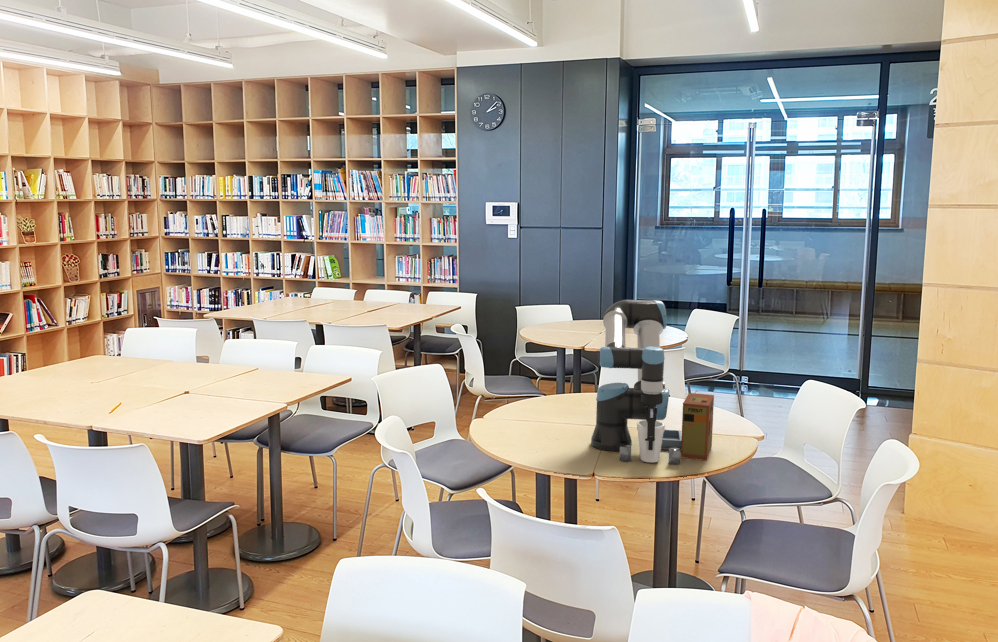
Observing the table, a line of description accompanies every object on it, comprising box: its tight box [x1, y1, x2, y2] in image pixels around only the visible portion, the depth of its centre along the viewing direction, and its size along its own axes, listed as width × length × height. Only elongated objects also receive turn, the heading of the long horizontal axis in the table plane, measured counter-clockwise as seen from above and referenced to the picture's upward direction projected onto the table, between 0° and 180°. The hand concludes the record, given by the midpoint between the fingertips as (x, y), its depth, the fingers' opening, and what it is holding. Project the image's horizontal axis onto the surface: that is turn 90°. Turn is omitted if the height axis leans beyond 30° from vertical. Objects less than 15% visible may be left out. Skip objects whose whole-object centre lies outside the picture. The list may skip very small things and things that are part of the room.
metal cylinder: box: [618, 445, 632, 463], centre depth 266 cm, size 4×4×5 cm
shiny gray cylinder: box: [668, 448, 681, 466], centre depth 262 cm, size 4×4×5 cm
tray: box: [661, 429, 682, 450], centre depth 285 cm, size 14×14×4 cm
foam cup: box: [636, 420, 666, 463], centre depth 264 cm, size 10×9×13 cm
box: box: [680, 392, 715, 461], centre depth 274 cm, size 17×9×20 cm, turn 159°
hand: (649, 453), depth 264 cm, fingers closed on foam cup, 9 cm apart
